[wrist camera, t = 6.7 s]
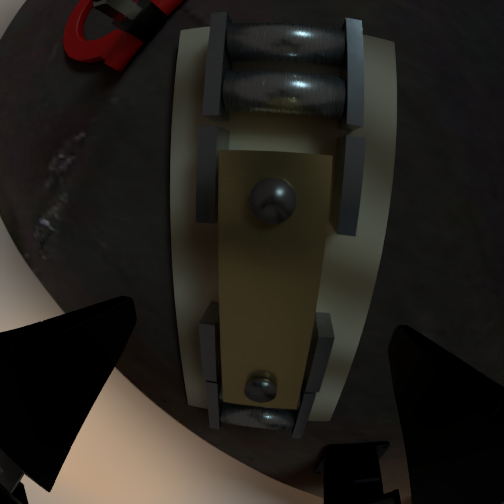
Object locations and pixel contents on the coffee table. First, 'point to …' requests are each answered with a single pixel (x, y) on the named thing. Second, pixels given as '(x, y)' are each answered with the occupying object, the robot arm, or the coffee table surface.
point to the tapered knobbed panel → (269, 270)
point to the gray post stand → (117, 42)
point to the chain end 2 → (255, 414)
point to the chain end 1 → (284, 99)
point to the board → (370, 212)
